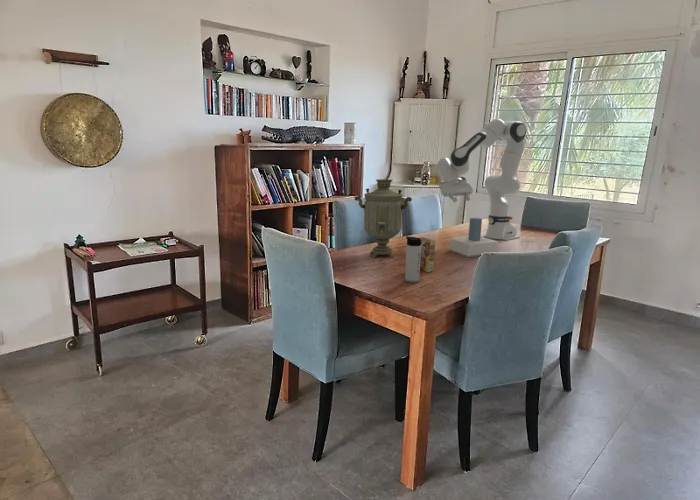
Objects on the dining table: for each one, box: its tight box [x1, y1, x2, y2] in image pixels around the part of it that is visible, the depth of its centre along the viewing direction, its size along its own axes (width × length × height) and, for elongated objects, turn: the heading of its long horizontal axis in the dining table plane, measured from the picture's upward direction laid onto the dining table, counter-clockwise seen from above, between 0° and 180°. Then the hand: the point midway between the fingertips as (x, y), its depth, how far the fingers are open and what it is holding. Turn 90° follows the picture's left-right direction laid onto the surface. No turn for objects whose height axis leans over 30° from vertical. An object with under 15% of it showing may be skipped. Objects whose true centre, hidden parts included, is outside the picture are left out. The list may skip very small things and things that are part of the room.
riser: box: [448, 236, 499, 259], centre depth 255 cm, size 21×17×7 cm
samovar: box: [354, 178, 413, 259], centre depth 239 cm, size 30×26×40 cm
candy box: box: [417, 236, 436, 273], centre depth 219 cm, size 9×4×15 cm, turn 39°
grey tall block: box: [467, 217, 483, 241], centre depth 253 cm, size 4×4×12 cm
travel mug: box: [404, 236, 421, 284], centre depth 201 cm, size 6×7×20 cm
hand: (462, 200), depth 264 cm, fingers open, 8 cm apart
